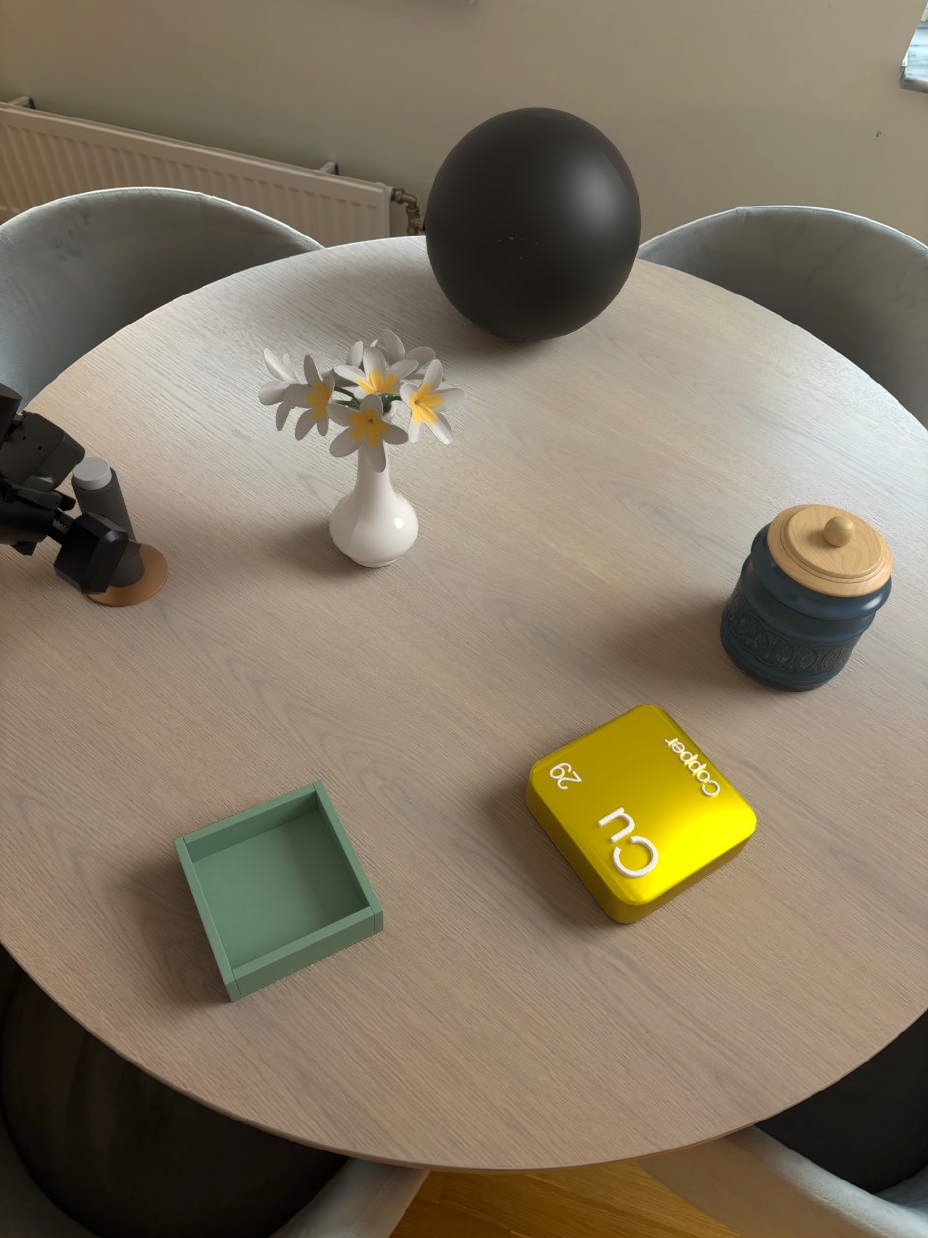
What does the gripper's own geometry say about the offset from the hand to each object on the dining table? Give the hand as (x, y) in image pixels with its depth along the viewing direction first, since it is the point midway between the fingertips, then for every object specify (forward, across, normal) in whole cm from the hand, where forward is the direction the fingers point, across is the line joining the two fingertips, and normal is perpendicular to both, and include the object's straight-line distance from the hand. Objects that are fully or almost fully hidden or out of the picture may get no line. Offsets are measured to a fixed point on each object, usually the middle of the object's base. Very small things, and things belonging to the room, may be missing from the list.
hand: (105, 526), depth 91 cm
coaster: (+6, 0, +5) cm, 8 cm away
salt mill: (+5, 0, +5) cm, 7 cm away
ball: (+51, -6, -40) cm, 65 cm away
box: (-5, -36, +16) cm, 40 cm away
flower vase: (+19, -17, -8) cm, 26 cm away
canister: (+31, -57, -20) cm, 68 cm away
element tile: (+12, -55, -1) cm, 57 cm away
